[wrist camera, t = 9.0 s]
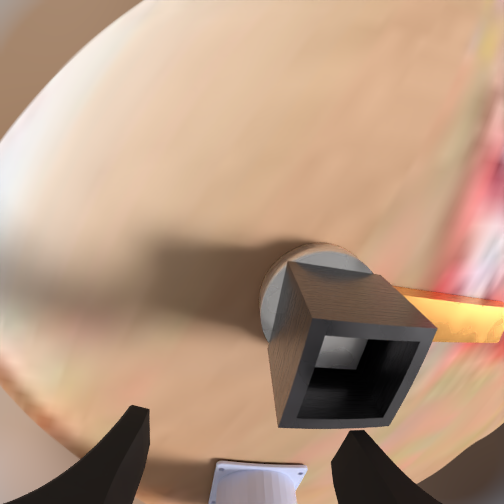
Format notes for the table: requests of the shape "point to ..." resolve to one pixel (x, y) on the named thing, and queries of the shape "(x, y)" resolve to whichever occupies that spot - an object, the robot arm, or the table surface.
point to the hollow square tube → (343, 325)
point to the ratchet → (428, 303)
